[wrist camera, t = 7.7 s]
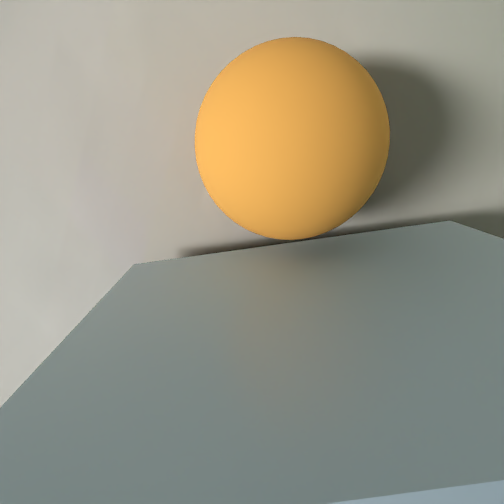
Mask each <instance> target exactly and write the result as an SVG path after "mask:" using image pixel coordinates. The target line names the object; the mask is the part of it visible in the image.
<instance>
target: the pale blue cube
mask: <svg viewBox="0 0 504 504" xmlns="http://www.w3.org/2000/svg"><path fill="white" fill-rule="evenodd" d="M0 504H504V239H503V238H500V237H497V236H494V235H491V234H488V233H485V232H483V231H480V230H477V229H474V228H471V227H468V226H465V225H462V224H459V223H456V222H453V221H443V222H436V223H429V224H422V225H415V226H407V227H400V228H393V229H386V230H379V231H371V232H364V233H357V234H350V235H343V236H335V237H328V238H321V239H314V240H307V241H299V242H292V243H285V244H278V245H271V246H263V247H256V248H249V249H242V250H235V251H227V252H220V253H213V254H206V255H198V256H191V257H184V258H177V259H170V260H162V261H155V262H148V263H141V264H134V265H133V266H132V267H131V268H130V269H129V270H128V271H127V272H126V273H125V274H124V276H123V277H122V278H121V279H120V280H119V281H118V282H117V283H116V284H115V285H114V286H113V287H112V288H111V290H110V291H109V292H108V293H107V294H106V295H105V296H104V297H103V298H102V299H101V300H100V301H99V302H98V303H97V305H96V306H95V307H94V308H93V309H92V310H91V311H90V312H89V313H88V314H87V315H86V316H85V317H84V318H83V320H82V321H81V322H80V323H79V324H78V325H77V326H76V327H75V328H74V329H73V330H72V331H71V332H70V334H69V335H68V336H67V337H66V338H65V339H64V340H63V341H62V342H61V343H60V344H59V345H58V346H57V347H56V349H55V350H54V351H53V352H52V353H51V354H50V355H49V356H48V357H47V358H46V359H45V360H44V361H43V362H42V364H41V365H40V366H39V367H38V368H37V369H36V370H35V371H34V372H33V373H32V374H31V375H30V376H29V378H28V379H27V380H26V381H25V382H24V383H23V384H22V385H21V386H20V387H19V388H18V389H17V390H16V391H15V393H14V394H13V395H12V396H11V397H10V398H9V399H8V400H7V401H6V402H5V403H4V404H3V405H2V407H1V408H0Z"/></svg>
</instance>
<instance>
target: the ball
mask: <svg viewBox="0 0 504 504" xmlns="http://www.w3.org/2000/svg"><path fill="white" fill-rule="evenodd" d="M389 145H390V127H389V118H388V114H387V109H386V105H385V103H384V100H383V97H382V95H381V92H380V90H379V89H378V87H377V85H376V83H375V81H374V80H373V78H372V77H371V76H370V74H369V73H368V72H367V70H366V69H365V68H364V67H363V66H362V65H361V64H360V63H359V62H358V61H357V60H355V59H354V58H353V57H351V56H350V55H349V54H347V53H346V52H345V51H343V50H341V49H339V48H337V47H336V46H334V45H331V44H328V43H326V42H323V41H320V40H315V39H311V38H301V37H289V38H280V39H275V40H271V41H267V42H264V43H262V44H259V45H257V46H254V47H253V48H251V49H249V50H247V51H245V52H244V53H242V54H241V55H239V56H238V57H237V58H235V59H234V60H233V61H231V62H230V63H229V64H228V65H227V66H226V67H225V68H224V69H223V70H222V71H221V72H220V74H219V75H218V76H217V77H216V79H215V80H214V81H213V83H212V84H211V86H210V88H209V90H208V91H207V93H206V95H205V97H204V100H203V102H202V105H201V107H200V110H199V114H198V118H197V122H196V130H195V153H196V161H197V165H198V169H199V173H200V175H201V178H202V181H203V183H204V185H205V187H206V189H207V191H208V193H209V195H210V196H211V198H212V199H213V200H214V202H215V203H216V205H217V206H218V207H219V208H220V209H221V210H222V211H223V212H224V213H225V214H226V215H227V216H228V217H229V218H230V219H232V220H233V221H234V222H235V223H237V224H239V225H240V226H242V227H243V228H245V229H247V230H249V231H251V232H254V233H256V234H259V235H262V236H265V237H269V238H275V239H283V240H296V239H305V238H310V237H314V236H317V235H320V234H323V233H326V232H328V231H330V230H332V229H334V228H336V227H338V226H339V225H341V224H343V223H344V222H346V221H347V220H348V219H349V218H351V217H352V216H353V215H354V214H355V213H357V212H358V211H359V210H360V208H361V207H362V206H363V205H364V204H365V203H366V202H367V200H368V199H369V198H370V196H371V195H372V194H373V192H374V190H375V189H376V187H377V185H378V183H379V181H380V179H381V176H382V174H383V172H384V169H385V165H386V162H387V158H388V152H389Z"/></svg>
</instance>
